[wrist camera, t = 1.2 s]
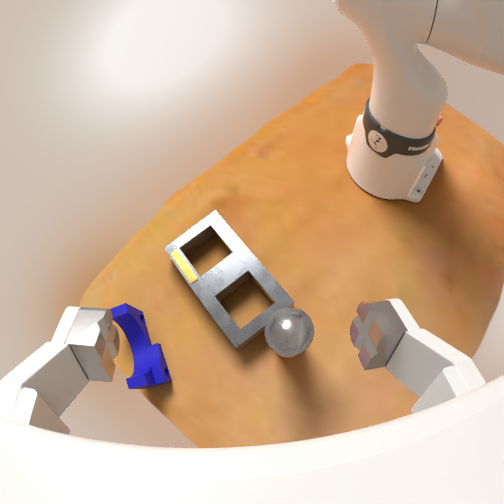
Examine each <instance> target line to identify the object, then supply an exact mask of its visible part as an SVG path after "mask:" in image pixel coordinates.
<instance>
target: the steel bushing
mask: <svg viewBox="0 0 504 504" xmlns="http://www.w3.org/2000/svg"><path fill="white" fill-rule="evenodd" d="M313 336H314V326H313V323H312V321H311V319H310V317H309V316H308V315H307V314H306V313H305V312H303V311H302V310H299V309H297V308H290V307H288V308H282V309H280V310H278V311H276V312H275V313H273V314H272V315H271V316H270V317H269V319H268V321H267V323H266V325H265V339H266V341H267V343H268V345H269V347H270V348H271V349H272V350H273V351H274V352H276V353H277V354H278V355H280V356H282V357H285V358H291V357H294V356H296V355H298V354H300V353H302V352H303V351H305V350H306V349H307V348H308V347H309V345H310V344H311V342H312V340H313Z"/></svg>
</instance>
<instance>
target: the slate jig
mask: <svg viewBox="0 0 504 504" xmlns="http://www.w3.org/2000/svg"><path fill="white" fill-rule="evenodd" d="M214 235H216V236H217V237H218V238H219V240H220V241H221V242H222V243H223V244H224V246H225V247H226V248H227V249H228V251H229V252H230V253H231V254H230V255H229V256H228V257H226V258H225V259H224V260H222V261H221V262H220V263H218V264H217V265H216V266H214V267H213V268H212V269H210V270H209V271H208V272H206V273H205V274H204V275H203V276H200V275H199V274H198V272H197V271H196V270H195V268H194V267H193V265H192V264H191V263H190V261H189V260H188V258H187V257H186V256H187V255H189V254H190V253H191V252H193V251H194V250H195V249H197V248H198V247H199V246H201V245H202V244H203V243H205V242H206V241H208V240H209V239H210V238H212V237H213V236H214ZM164 249H165V251H166V252H167V254H168V255H169V257H170V258H171V260H172V261H173V263H174V264H175V265H176V267H177V268H178V270H179V271H180V273H181V274H182V276H183V277H184V278H185V280H186V281H187V283H188V284H189V286H190V287H191V288H192V290H193V291H194V293H195V294H196V295H197V297H198V298H199V300H200V301H201V302H202V304H203V305H204V307H205V308H206V309H207V311H208V312H209V313H210V315H211V316H212V317H213V319H214V320H215V321H216V323H217V324H218V325H219V327H220V328H221V329H222V331H223V332H224V333H225V335H226V336H227V337H228V339H229V340H230V341H231V343H232V344H233V345H234V347H235V348H237V349H239V350H240V349H241V348H243V347H244V346H245V345H247V344H248V343H249V342H250V341H252V340H253V339H254V338H256V337H257V336H258V335H260V334H261V333H262V332H263V331H265V325H266V323H267V321H268V319H269V317H270V316H271V315H272V314H273V313H275V312H276V311H278V310H280V309H282V308H288V307H290V308H293V307H294V301H293V300H292V299H291V298H290V296H289V295H288V294H287V293H286V292H285V291H284V289H283V288H282V287H281V286H280V285H279V284H278V282H277V281H276V280H275V279H274V278H273V277H272V276H271V274H270V273H269V272H268V271H267V270H266V269H265V267H264V266H263V265H262V264H261V263H260V262H259V260H258V259H257V258H256V257H255V256H254V255H253V254H252V252H251V251H250V250H249V249H248V248H247V247H246V245H245V244H244V243H243V242H242V241H241V240H240V238H239V237H238V236H237V235H236V234H235V233H234V231H233V230H232V229H231V228H230V227H229V226H228V225H227V223H226V222H225V221H224V220H223V219H222V218H221V216H220V215H219V214H218V213H217V212H216V211H214V212H213V213H211V214H210V215H208V216H207V217H206V218H204V219H203V220H202V221H200V222H199V223H197V224H196V225H195V226H193V227H192V228H191V229H189V230H188V231H187V232H185V233H184V234H183V235H181V236H180V237H178V238H177V239H176V240H174V241H173V242H172V243H170V244H169V245H168V246H167V247H165V248H164ZM250 278H252V280H253V281H254V282H255V283H256V284H257V286H258V287H259V288H260V289H261V290H262V292H263V293H264V294H265V295H266V296H267V298H268V299H269V300H270V301H271V302H272V303H273V305H271V306H270V307H269V308H268V309H266V310H265V311H264V312H262V313H261V314H260V315H259V316H257V317H256V318H255V319H253V320H252V321H251V322H250V323H248V324H247V325H246V326H244V327H243V328H242V329H240V328H239V326H238V325H237V324H236V323H235V321H234V320H233V319H232V317H231V316H230V315H229V314H228V312H227V311H226V310H225V308H224V307H223V306H222V304H221V303H220V301H222V300H223V299H224V298H225V297H227V296H228V295H229V294H231V293H232V292H233V291H235V290H236V289H237V288H239V287H240V286H241V285H242V284H244V283H245V282H246V281H248V280H249V279H250Z"/></svg>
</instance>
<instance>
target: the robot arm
mask: <svg viewBox="0 0 504 504" xmlns="http://www.w3.org/2000/svg"><path fill="white" fill-rule="evenodd" d="M332 2H333V3H334V5H335V7H336V8H337V9H338V11H340V13H341V14H343V15H344V16H345V17H346V18H347V19H349V20H350V21H351V22H352V23H353V24H354V25H355V26H356V27H357V29H358V30H359V31H360V32H361V34H362V35H363V37H364V38H365V40H366V42H367V44H368V46H369V48H370V51H371V54H372V57H373V63H374V74H373V84H372V91H371V96H370V98H369V99H368V100H367V103H366V105H365V108H364V112H363V115H360V116H359V117H358V119H357V122H356V125H355V128H354V131H353V134H351V135H348V136H347V137H346V140H345V143H346V147H347V149H348V154H347V168H348V171H349V173H350V175H351V177H352V178H353V180H354V181H355V182H356V183H357V184H358V185H359V186H360V187H361V188H362V189H364V190H365V191H367V192H368V193H370V194H372V195H374V196H377V197H380V198H384V199H405V200H408V201H411V202H416V203H417V202H420V201H421V199H422V197H423V195H424V193H425V192H426V190H427V188H428V186H429V184H430V182H431V180H432V179H433V177H434V175H435V173H436V171H437V169H438V167H439V165H440V163H441V161H442V155H441V153H440V151H439V150H438V148H437V146H438V144H439V142H440V141H439V137H438V135H437V134H436V132H435V130H436V126H438V125H439V124H440V123H441V121H442V119H443V117H442V116H440V114H441V112H442V110H443V107H444V105H445V103H446V100H447V94H448V93H447V92H448V91H447V86H446V82H445V80H444V78H443V77H442V75H441V74H440V72H439V71H438V69H437V68H435V66H434V65H433V64H432V63H431V62H430V61H429V60H428V59H426V58H425V57H424V56H423V54H422V53H421V52H420V51H419V49H418V48H417V44H419V43H421V44H426V45H429V46H431V47H434V48H436V49H439V50H441V51H444V52H446V53H448V54H450V55H452V56H455V57H457V58H459V59H461V60H463V61H465V62H467V63H469V64H472V65H475V66H478V67H481V68H484V69H487V70H490V71H493V72H496V73H499V74H504V0H332ZM417 191H418V192H419V193H418V192H417ZM357 313H358V316H357V317H356V318H355V319H354V320H353V321H352V324H351V328H350V335H351V340H352V343H353V345H354V346H355V347H356V348H358V349H359V350H360V351H359V355H358V356H359V359H360V361H361V363H362V365H363V368H364V370H369V369H375V368H381V367H385V368H386V369H387V370H388V371H389V372H390V373H391V374H392V375H394V376H395V377H396V378H397V379H398V380H399V381H400V382H402V383H403V384H404V385H405V386H406V387H407V388H408V389H409V390H411V391H412V392H413V393H414V394H415V395H416V396H417V397H419V400H418V401H417V402H416V403H415V404H414V405H413V407H412V409H411V411H412V413H413V414H410V415H407V416H404V417H401V418H398V419H394V420H391V421H388V422H384V423H381V424H377V425H373V426H369V427H366V428H362V429H357V430H353V431H349V432H344V433H340V434H335V435H330V436H325V437H319V438H314V439H308V440H301V441H294V442H287V443H279V444H270V445H259V446H247V447H230V448H169V447H152V446H139V445H130V444H121V443H113V442H106V441H100V440H94V439H87V438H82V437H77V436H72V435H69V432H70V430H69V428H68V427H67V426H66V425H65V424H64V423H63V422H62V420H60V418H59V417H60V415H61V414H62V413H63V412H64V411H65V409H66V408H67V407H68V406H69V404H70V403H71V402H72V401H73V400H74V399H75V398H76V396H77V395H78V394H79V393H80V392H81V390H82V389H83V388H84V387H85V386H86V384H87V383H88V382H89V380H92V381H104V382H112V379H113V375H114V370H115V364H114V361H113V359H114V358H115V357H116V356H117V355H118V352H119V333H118V330H117V327H116V326H114V325H113V324H112V321H113V315H112V312H111V310H109V309H102V308H88V307H71V306H69V307H67V308H66V309H65V311H64V313H63V316H62V318H61V320H60V322H59V325H58V327H57V329H56V331H55V334H54V336H53V339H52V341H51V342H47V343H45V344H44V345H43V346H42V347H40V348H39V349H38V350H37V351H36V352H34V353H33V354H32V355H30V356H29V357H28V358H27V359H26V360H25V361H23V362H22V363H21V364H19V365H18V366H17V367H16V368H15V369H14V370H12V371H11V372H10V373H9V374H7V375H6V376H5V377H4V378H3V379H2V380H1V381H0V504H504V375H502V376H500V377H498V378H496V379H494V380H492V381H490V382H488V383H486V382H485V381H484V379H483V377H482V376H481V374H480V372H479V371H478V369H477V367H476V366H475V364H474V363H473V361H472V359H471V358H470V357H468V356H466V355H465V354H463V353H462V352H460V351H459V350H457V349H455V348H454V347H452V346H451V345H449V344H447V343H446V342H444V341H443V340H441V339H439V338H438V337H436V336H435V335H433V334H431V333H430V332H428V331H427V330H425V329H420V328H419V326H418V325H417V323H416V322H415V320H414V319H413V317H412V316H411V314H410V313H409V311H408V310H407V308H406V307H405V305H404V304H403V302H402V301H401V300H400V299H398V298H395V299H386V300H378V301H368V302H361V303H360V304H359V306H358V308H357Z"/></svg>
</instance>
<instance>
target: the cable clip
mask: <svg viewBox="0 0 504 504" xmlns="http://www.w3.org/2000/svg"><path fill="white" fill-rule="evenodd" d="M109 310H111V312H112V315H113V320H114V321H115V322H116V323H117V324H118V325H119V326H120V327H121V328H122V330H123V331H124V333H125V335H126V337H127V339H128V341H129V343H130V346H131V349H132V352H133V357H134V372H133V375H132V376H131V377H130V378H127V379H126V380H127V384H128V387H129V389H144V388H150V387H153V386H157V385H160V384H164V383H167V382H170V381H172V380H171V377H170V373H169V370H168V367H167V364H166V361H165V358H164V355H163V351H162V348H161V345H160V344H158V343H157V344H154V345H151V341H150V338H149V334H148V331H147V327H146V323H145V319H144V315H143V312H142V311H140V310H138V309H136V308H134V307H132V306H130V305H128V304H126V303H125V304H122V305H120V306H117V307H114V308H112V309H109Z"/></svg>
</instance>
